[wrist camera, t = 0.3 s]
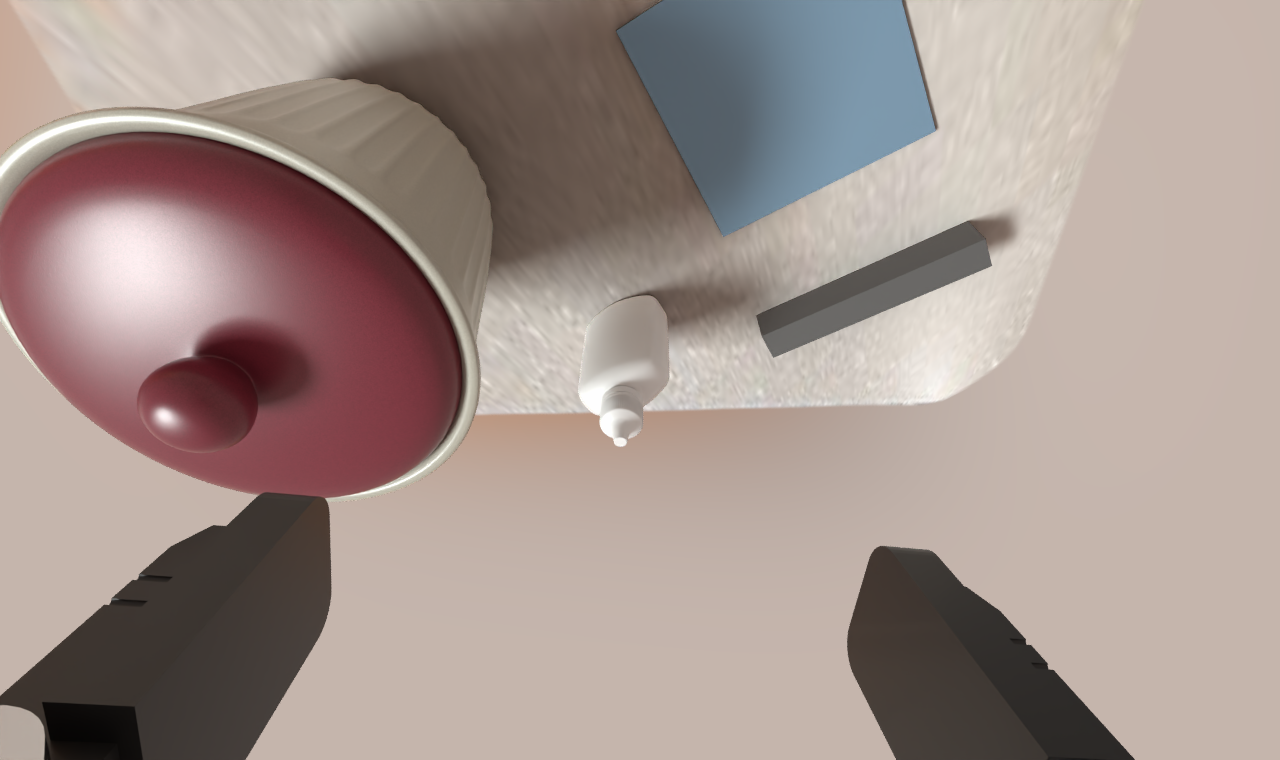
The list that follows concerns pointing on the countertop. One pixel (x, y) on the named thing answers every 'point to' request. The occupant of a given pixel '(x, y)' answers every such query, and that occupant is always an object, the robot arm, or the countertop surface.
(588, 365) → the eye dropper bottle
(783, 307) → the stopper wall
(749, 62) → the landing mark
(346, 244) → the canister
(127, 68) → the countertop surface
